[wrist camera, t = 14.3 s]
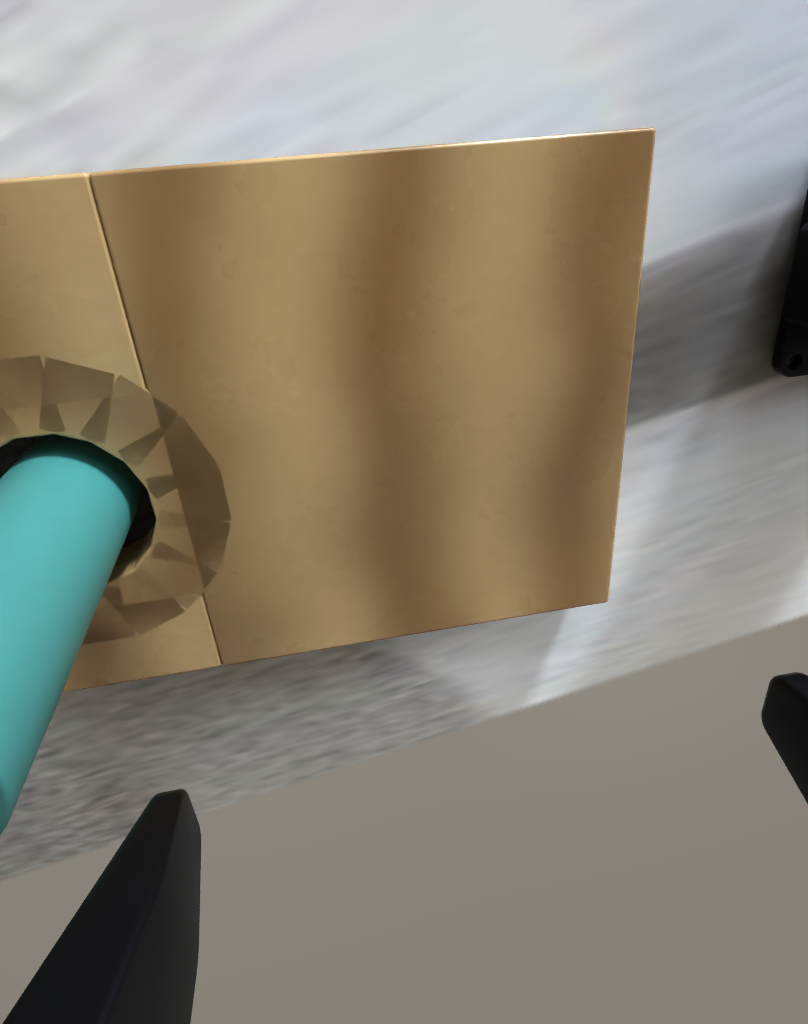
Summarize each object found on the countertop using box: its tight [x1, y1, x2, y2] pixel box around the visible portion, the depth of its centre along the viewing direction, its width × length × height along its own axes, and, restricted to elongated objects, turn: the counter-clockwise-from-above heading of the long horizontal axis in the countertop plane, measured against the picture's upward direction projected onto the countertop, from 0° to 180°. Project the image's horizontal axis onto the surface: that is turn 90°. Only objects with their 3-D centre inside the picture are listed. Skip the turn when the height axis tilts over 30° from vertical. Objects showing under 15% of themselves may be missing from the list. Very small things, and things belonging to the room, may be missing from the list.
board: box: [0, 127, 656, 692], centre depth 18 cm, size 20×14×2 cm
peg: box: [0, 434, 142, 835], centre depth 14 cm, size 3×3×11 cm
